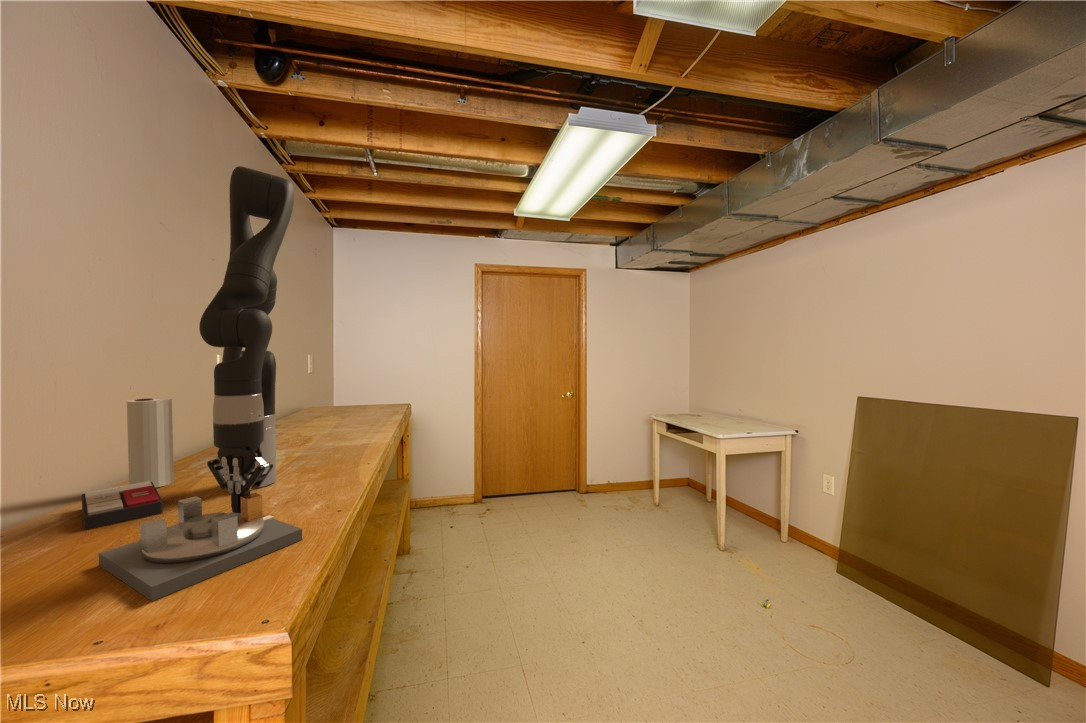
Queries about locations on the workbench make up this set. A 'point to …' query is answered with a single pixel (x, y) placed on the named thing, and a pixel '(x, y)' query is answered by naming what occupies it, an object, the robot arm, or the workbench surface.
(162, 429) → the paper towel roll
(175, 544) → the lugged metal dish
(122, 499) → the calculator
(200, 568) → the base plate
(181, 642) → the workbench surface
